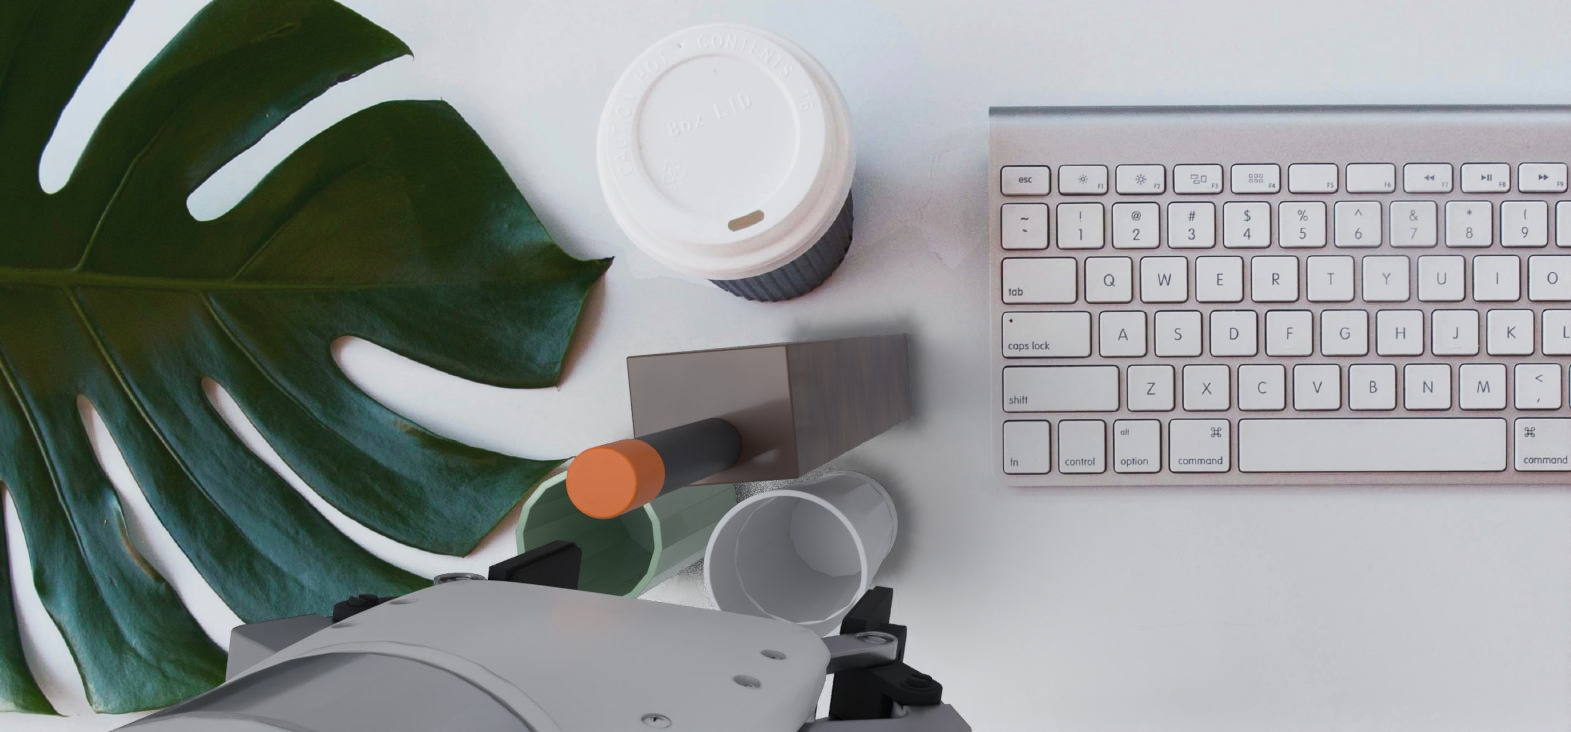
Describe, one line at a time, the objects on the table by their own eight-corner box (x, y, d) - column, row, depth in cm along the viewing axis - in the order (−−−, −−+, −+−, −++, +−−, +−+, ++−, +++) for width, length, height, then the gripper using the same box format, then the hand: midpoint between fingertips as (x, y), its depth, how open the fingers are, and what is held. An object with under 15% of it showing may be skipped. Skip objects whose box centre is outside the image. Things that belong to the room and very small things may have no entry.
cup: (779, 590, 64) (705, 653, 52) (776, 457, 64) (700, 490, 52) (913, 588, 64) (869, 651, 52) (910, 455, 64) (865, 488, 52)
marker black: (745, 470, 40) (641, 516, 31) (689, 474, 40) (568, 522, 31) (740, 414, 40) (634, 443, 31) (683, 418, 40) (561, 449, 31)
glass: (742, 557, 64) (668, 607, 53) (622, 565, 64) (523, 618, 53) (731, 437, 64) (654, 463, 53) (610, 446, 64) (508, 474, 53)
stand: (913, 416, 64) (799, 478, 40) (812, 424, 64) (638, 491, 40) (906, 332, 63) (786, 344, 39) (805, 340, 64) (624, 356, 40)
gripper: (-283, 1078, 16) (428, 691, 33) (861, 1240, 16) (983, 770, 33) (-233, 587, 16) (458, 452, 33) (929, 753, 16) (1017, 532, 33)
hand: (721, 612), depth 33 cm, fingers open, 9 cm apart
